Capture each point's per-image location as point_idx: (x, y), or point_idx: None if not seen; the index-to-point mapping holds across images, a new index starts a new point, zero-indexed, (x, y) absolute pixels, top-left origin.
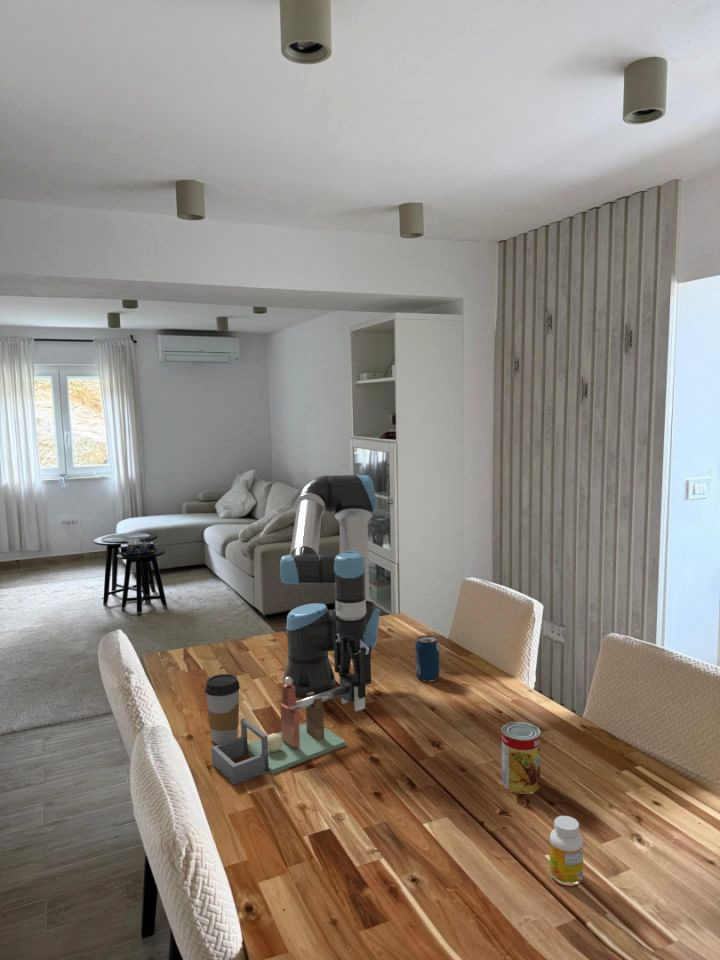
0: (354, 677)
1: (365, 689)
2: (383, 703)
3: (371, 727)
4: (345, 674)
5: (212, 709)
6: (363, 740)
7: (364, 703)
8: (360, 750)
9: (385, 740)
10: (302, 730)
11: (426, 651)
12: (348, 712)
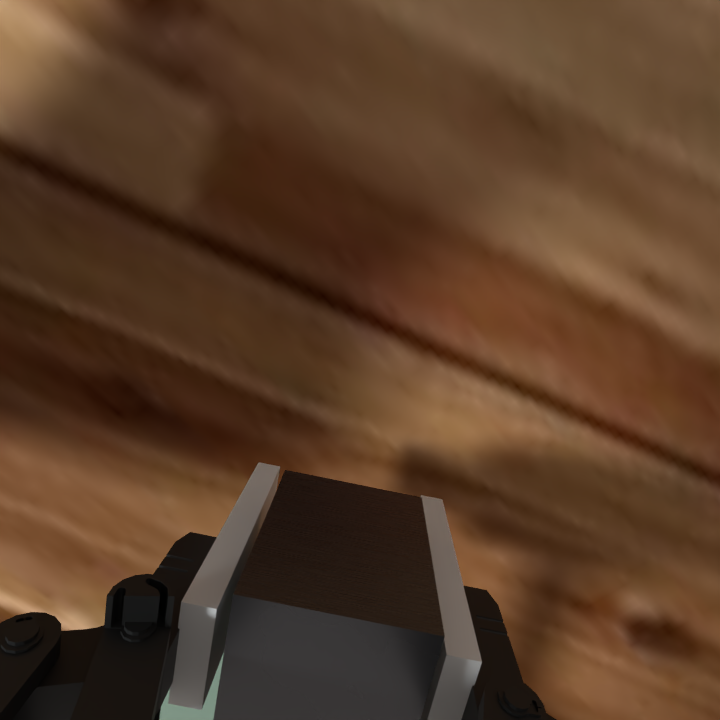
0: (329, 701)
1: (427, 536)
2: (292, 101)
3: (447, 411)
4: (164, 679)
5: None
6: (502, 538)
7: (445, 524)
8: (551, 612)
9: (601, 474)
10: (218, 675)
11: None
12: (214, 354)
